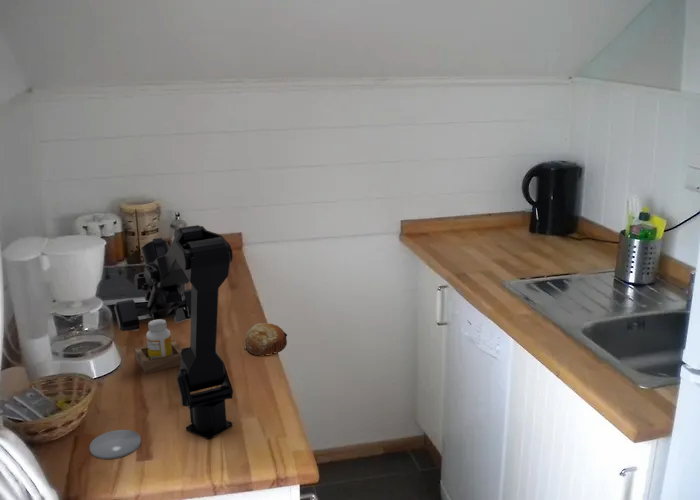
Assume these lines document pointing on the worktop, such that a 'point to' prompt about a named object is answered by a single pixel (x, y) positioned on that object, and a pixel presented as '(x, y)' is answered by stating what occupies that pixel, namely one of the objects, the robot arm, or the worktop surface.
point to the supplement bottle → (158, 339)
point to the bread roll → (265, 339)
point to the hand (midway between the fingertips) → (155, 324)
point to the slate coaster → (115, 444)
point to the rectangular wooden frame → (158, 359)
